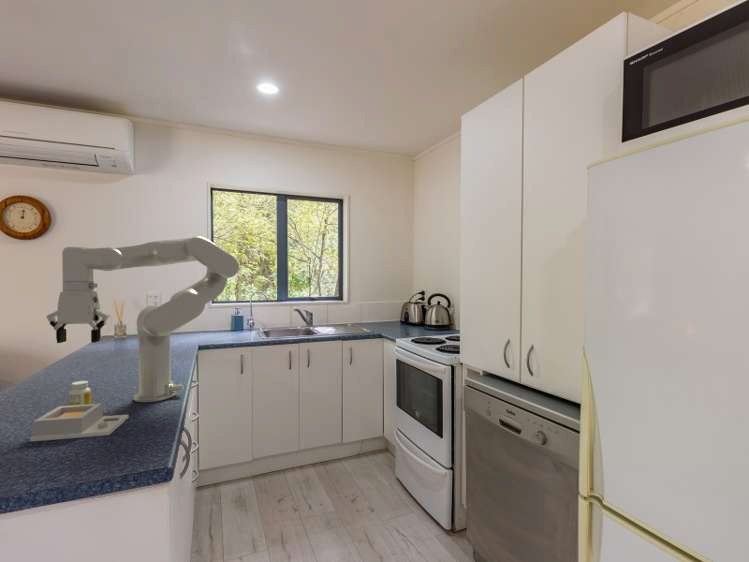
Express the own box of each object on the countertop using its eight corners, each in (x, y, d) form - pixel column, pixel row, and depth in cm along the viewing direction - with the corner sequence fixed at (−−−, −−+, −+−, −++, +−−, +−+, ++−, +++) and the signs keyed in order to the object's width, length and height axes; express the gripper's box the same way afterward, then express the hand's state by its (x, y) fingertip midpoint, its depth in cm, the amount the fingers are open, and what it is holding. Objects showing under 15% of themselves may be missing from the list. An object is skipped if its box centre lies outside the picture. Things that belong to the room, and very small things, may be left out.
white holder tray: (128, 417, 111) (128, 401, 111) (108, 435, 100) (108, 416, 100) (58, 423, 108) (58, 405, 108) (29, 441, 96) (29, 422, 96)
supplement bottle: (71, 418, 111) (70, 386, 111) (67, 414, 115) (66, 382, 114) (93, 413, 115) (92, 382, 115) (88, 409, 119) (88, 379, 118)
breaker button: (85, 418, 106) (85, 411, 106) (75, 425, 101) (75, 418, 101) (65, 419, 105) (65, 412, 105) (54, 427, 100) (53, 419, 100)
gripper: (115, 286, 121) (115, 339, 121) (56, 286, 119) (57, 340, 119) (101, 287, 113) (101, 343, 114) (38, 287, 111) (38, 344, 112)
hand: (78, 342), depth 116 cm, fingers open, 9 cm apart
